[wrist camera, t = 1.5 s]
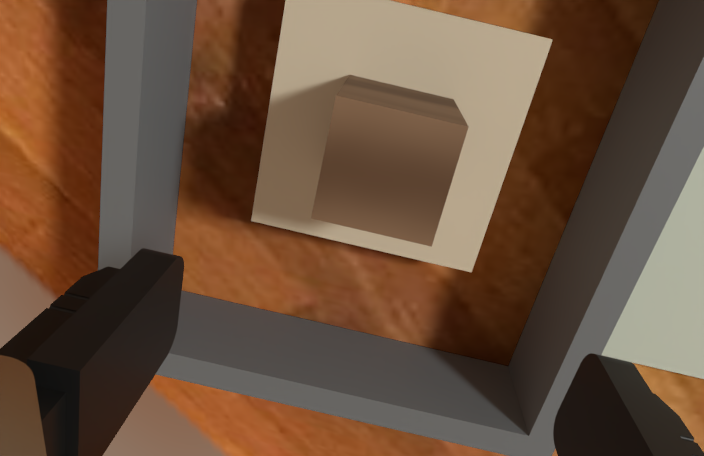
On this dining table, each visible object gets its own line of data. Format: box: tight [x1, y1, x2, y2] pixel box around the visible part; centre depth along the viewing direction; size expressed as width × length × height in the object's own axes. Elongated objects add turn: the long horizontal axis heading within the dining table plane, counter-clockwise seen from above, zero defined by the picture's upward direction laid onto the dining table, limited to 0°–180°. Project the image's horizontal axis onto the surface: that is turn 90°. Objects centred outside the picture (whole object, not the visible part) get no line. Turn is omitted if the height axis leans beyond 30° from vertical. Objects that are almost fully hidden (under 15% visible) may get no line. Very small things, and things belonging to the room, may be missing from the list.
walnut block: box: [311, 75, 469, 247], centre depth 24 cm, size 5×5×6 cm
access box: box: [98, 0, 704, 456], centre depth 26 cm, size 30×25×6 cm
